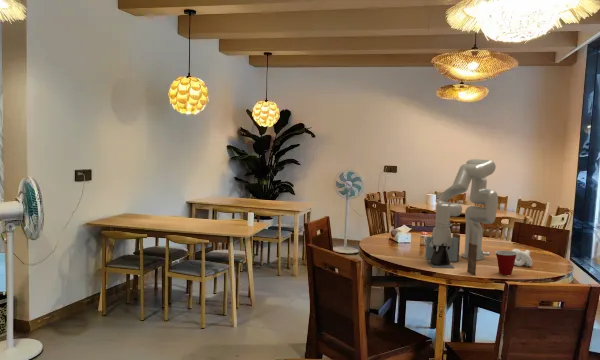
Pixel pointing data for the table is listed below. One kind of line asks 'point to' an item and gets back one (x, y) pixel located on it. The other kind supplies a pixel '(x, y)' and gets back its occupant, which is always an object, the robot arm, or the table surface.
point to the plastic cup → (506, 261)
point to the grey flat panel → (451, 252)
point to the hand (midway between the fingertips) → (440, 257)
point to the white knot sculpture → (522, 258)
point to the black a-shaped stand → (440, 256)
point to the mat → (440, 266)
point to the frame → (471, 255)
